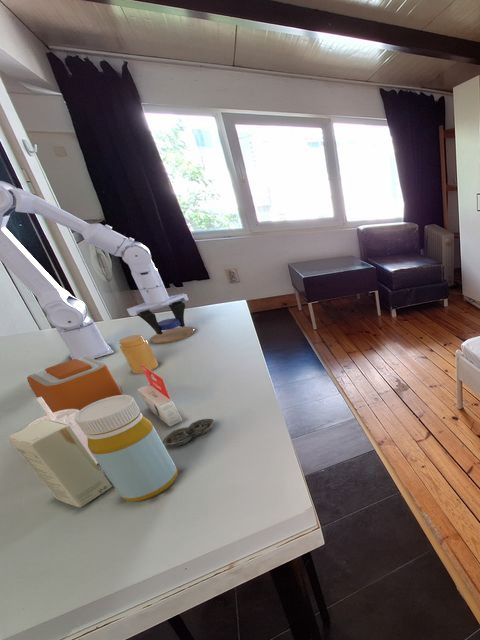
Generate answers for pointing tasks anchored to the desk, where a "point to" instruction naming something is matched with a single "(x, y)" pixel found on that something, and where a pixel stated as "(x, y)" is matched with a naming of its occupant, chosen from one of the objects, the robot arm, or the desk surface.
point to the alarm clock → (74, 384)
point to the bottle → (127, 447)
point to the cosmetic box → (60, 462)
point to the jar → (138, 353)
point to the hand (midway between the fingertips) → (171, 329)
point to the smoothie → (66, 418)
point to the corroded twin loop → (188, 432)
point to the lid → (169, 323)
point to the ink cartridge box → (159, 399)
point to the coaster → (172, 335)
